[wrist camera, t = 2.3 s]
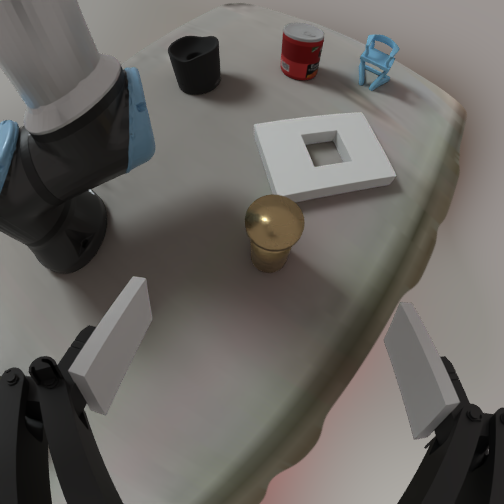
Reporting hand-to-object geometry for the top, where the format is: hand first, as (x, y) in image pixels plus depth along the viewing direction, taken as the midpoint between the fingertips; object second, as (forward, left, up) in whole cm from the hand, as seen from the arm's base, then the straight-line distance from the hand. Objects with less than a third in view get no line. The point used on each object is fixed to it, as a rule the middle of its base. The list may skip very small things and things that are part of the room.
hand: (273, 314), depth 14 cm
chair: (+37, +44, -25) cm, 62 cm away
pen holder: (0, +49, -25) cm, 55 cm away
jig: (+17, +24, -25) cm, 38 cm away
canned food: (+21, +48, -25) cm, 58 cm away
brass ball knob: (+4, +10, -25) cm, 27 cm away
